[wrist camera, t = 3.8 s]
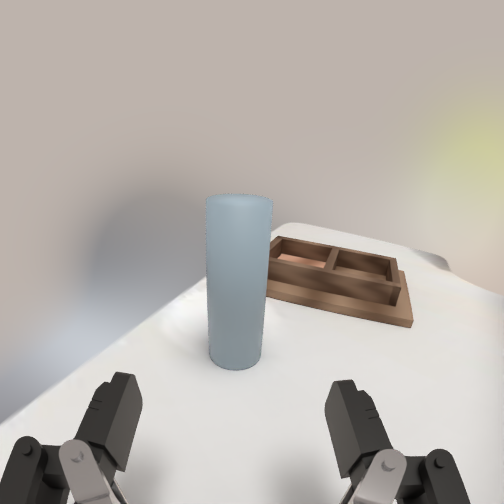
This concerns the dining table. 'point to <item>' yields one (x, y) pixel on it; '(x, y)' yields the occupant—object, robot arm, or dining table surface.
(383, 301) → the slot rack
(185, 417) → the dining table surface
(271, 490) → the dining table surface
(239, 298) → the slate peg
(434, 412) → the dining table surface
